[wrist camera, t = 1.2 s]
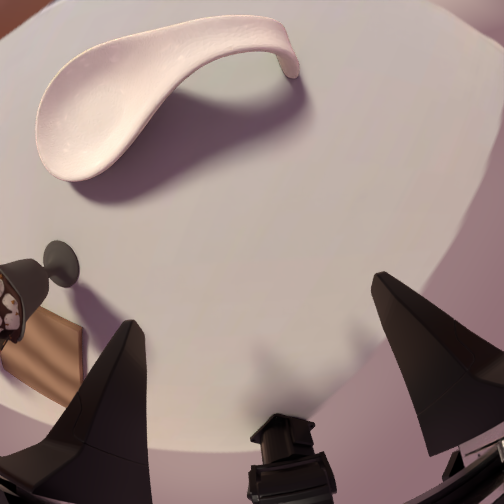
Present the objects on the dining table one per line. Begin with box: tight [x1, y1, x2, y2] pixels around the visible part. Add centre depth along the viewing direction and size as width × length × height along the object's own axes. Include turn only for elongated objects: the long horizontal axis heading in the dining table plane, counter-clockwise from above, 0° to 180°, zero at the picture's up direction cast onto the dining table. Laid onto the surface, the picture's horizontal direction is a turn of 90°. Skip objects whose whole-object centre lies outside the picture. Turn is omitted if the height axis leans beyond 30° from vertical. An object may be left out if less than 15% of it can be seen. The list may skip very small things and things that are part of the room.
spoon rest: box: [35, 15, 299, 182], centre depth 16 cm, size 24×12×7 cm, turn 107°
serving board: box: [0, 306, 83, 408], centre depth 24 cm, size 16×16×1 cm
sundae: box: [0, 240, 78, 352], centre depth 15 cm, size 7×7×15 cm
